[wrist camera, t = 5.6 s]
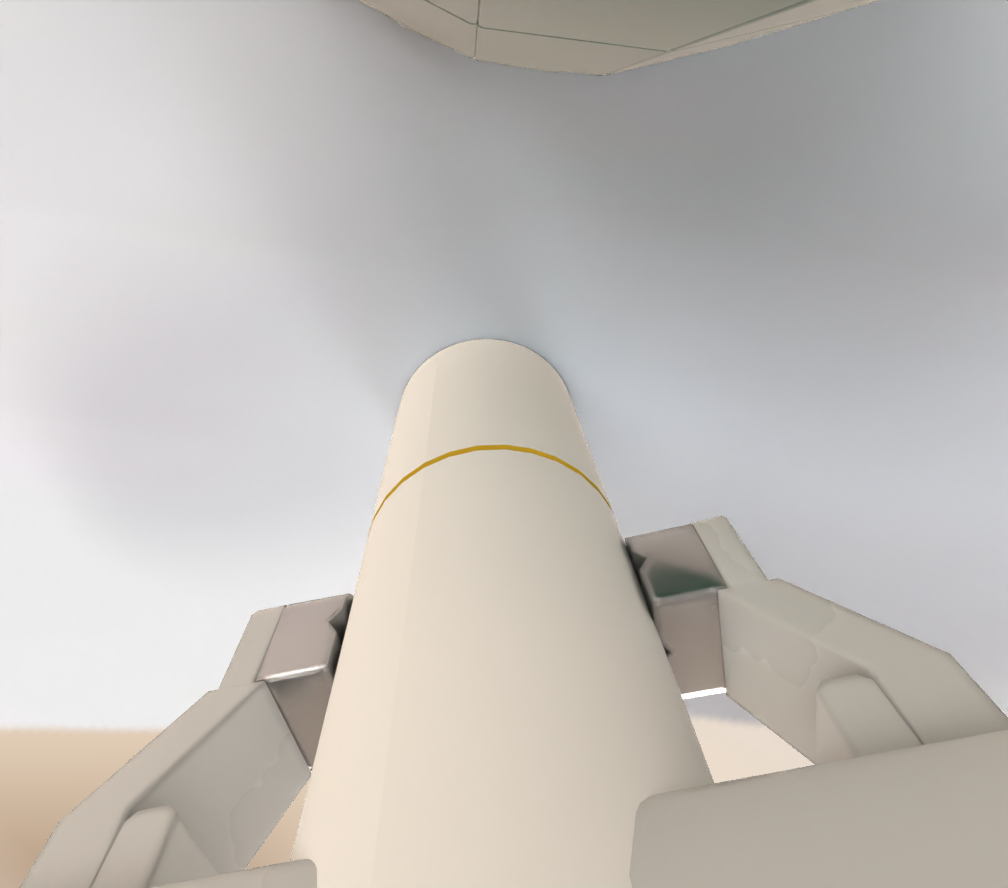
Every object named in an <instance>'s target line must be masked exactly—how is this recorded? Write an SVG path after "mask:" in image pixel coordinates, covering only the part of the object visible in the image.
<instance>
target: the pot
mask: <svg viewBox="0 0 1008 888" xmlns="http://www.w3.org/2000/svg"><path fill="white" fill-rule="evenodd" d="M358 1H360V2H362V3H364V4H366V5H368V6H370V7H372V8H374V9H376V10H378V11H380V12H382V13H383V14H385V15H386V16H388V17H390V18H391V19H393V20H394V21H396V22H397V23H399V24H401V25H402V26H404V27H405V28H408V29H410V30H412V31H414V32H416V33H419V34H421V35H423V36H425V37H427V38H429V39H432V40H434V41H436V42H438V43H440V44H442V45H445V46H447V47H449V48H451V49H453V50H456V51H458V52H460V53H462V54H464V55H466V56H468V57H469V58H474V57H475V59H476V60H477V61H485V62H493V63H500V64H503V65H507V66H514V67H522V68H529V69H536V70H543V71H550V72H574V73H582V74H590V75H598V76H601V75H604V74H606V75H610V74H614V73H618V72H623V71H627V70H631V69H635V68H639V67H643V66H648V65H652V64H659V63H662V62H665V61H668V60H673V59H677V58H681V57H685V56H689V55H693V54H698V53H702V52H706V51H710V50H714V49H718V48H723V47H727V46H730V45H734V44H737V43H740V42H744V41H747V40H750V39H754V38H757V37H760V36H764V35H767V34H770V33H774V32H777V31H780V30H784V29H787V28H790V27H794V26H797V25H800V24H804V23H807V22H810V21H814V20H817V19H820V18H823V17H827V16H830V15H833V14H837V13H840V12H843V11H847V10H850V9H853V8H856V7H860V6H864V5H867V4H871V3H874V2H877V1H881V0H358Z"/></svg>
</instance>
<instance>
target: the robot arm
mask: <svg viewBox="0 0 1008 888" xmlns="http://www.w3.org/2000/svg"><path fill="white" fill-rule="evenodd" d="M625 545H626V549H627V552H628V555H629V557H630V560H631V563H632V565H633V568H634V571H635V573H636V576H637V578H638V581H639V583H640V586H641V589H642V592H643V595H644V597H645V600H646V603H647V605H648V608H649V611H650V614H651V616H652V619H653V622H654V624H655V627H656V629H657V632H658V634H659V637H660V639H661V642H662V645H663V647H664V650H665V653H666V655H667V658H668V661H669V663H670V666H671V669H672V671H673V674H674V677H675V680H676V682H677V685H678V688H679V690H680V693H681V696H682V698H683V699H687V698H693V697H699V696H705V695H711V694H717V693H723V692H726V695H727V696H729V697H730V698H731V699H732V700H734V701H735V702H736V703H737V704H739V705H740V706H741V707H743V708H744V709H745V710H746V711H748V712H749V713H750V714H751V715H753V716H754V717H755V718H756V719H758V720H759V721H760V722H762V723H763V724H764V725H765V726H767V727H768V728H769V729H770V730H772V731H773V732H774V733H776V734H777V735H778V736H780V737H781V738H782V739H783V740H785V741H786V742H787V743H788V744H790V745H791V746H792V747H793V748H795V749H796V750H797V751H798V752H800V753H801V754H802V755H804V756H805V757H806V758H808V759H809V760H810V761H811V762H812V763H814V764H815V765H812V766H807V767H802V768H797V769H791V770H785V771H780V772H775V773H769V774H764V775H759V776H753V777H748V778H742V779H736V780H731V781H725V782H720V783H714V784H709V785H703V786H698V787H692V788H687V789H681V790H676V791H670V792H665V793H659V794H654V795H651V796H649V797H648V798H646V799H645V800H644V801H642V802H641V803H640V805H639V807H638V809H637V811H636V816H635V826H634V836H633V845H632V854H631V863H630V872H629V875H630V880H631V884H632V888H1008V717H1007V716H1006V715H1005V714H1004V713H1003V712H1002V711H1001V710H1000V709H999V707H998V706H997V705H996V704H995V703H994V702H993V701H992V700H991V699H990V698H989V696H988V695H987V694H986V693H985V692H984V691H983V690H982V689H981V688H980V686H979V685H978V684H977V683H976V682H975V681H974V680H973V679H972V678H971V677H970V675H969V674H968V673H967V672H966V671H965V670H964V669H963V668H962V667H961V666H960V664H959V663H958V662H957V661H956V660H955V659H954V658H953V657H952V656H951V654H949V653H947V652H944V651H942V650H940V649H937V648H935V647H933V646H931V645H928V644H926V643H924V642H922V641H919V640H917V639H915V638H913V637H910V636H908V635H906V634H903V633H901V632H899V631H897V630H894V629H892V628H890V627H888V626H885V625H883V624H881V623H878V622H876V621H874V620H872V619H869V618H867V617H865V616H863V615H860V614H858V613H856V612H853V611H851V610H849V609H847V608H844V607H842V606H840V605H838V604H835V603H833V602H831V601H828V600H826V599H824V598H822V597H819V596H817V595H815V594H813V593H810V592H808V591H806V590H803V589H801V588H799V587H797V586H794V585H792V584H790V583H788V582H785V581H783V580H781V579H773V580H768V579H767V578H766V576H765V575H764V573H763V572H762V570H761V569H760V567H759V566H758V564H757V563H756V561H755V560H754V558H753V557H752V555H751V554H750V552H749V551H748V549H747V548H746V546H745V545H744V543H743V542H742V540H741V539H740V537H739V536H738V534H737V533H736V531H735V530H734V528H733V527H732V525H731V524H730V522H729V521H728V519H727V518H726V517H724V516H718V517H714V518H710V519H706V520H701V521H697V522H693V523H690V524H688V525H684V526H679V527H674V528H670V529H665V530H660V531H656V532H651V533H646V534H642V535H637V536H632V537H628V538H625ZM353 598H354V596H353V595H351V594H344V595H339V596H333V597H328V598H322V599H317V600H311V601H306V602H300V603H295V604H289V605H288V606H287V605H284V606H279V607H274V608H269V609H264V610H259V611H257V612H256V613H254V614H253V615H252V616H251V618H250V620H249V622H248V624H247V627H246V629H245V631H244V633H243V635H242V638H241V640H240V642H239V644H238V647H237V649H236V651H235V653H234V655H233V658H232V660H231V662H230V664H229V667H228V669H227V671H226V673H225V676H224V678H223V680H222V682H221V684H220V687H219V689H218V690H214V691H209V692H207V693H206V694H205V695H204V696H203V697H202V698H200V699H199V700H198V701H197V702H196V703H195V704H194V705H192V706H191V707H190V708H189V709H188V710H187V711H186V712H184V713H183V714H182V715H181V716H180V717H179V718H178V719H176V720H175V721H174V722H173V723H172V724H171V725H169V726H168V727H167V728H166V729H165V730H164V731H163V732H161V733H160V734H159V735H158V736H157V737H156V738H155V739H153V740H152V741H151V742H150V743H149V744H148V745H147V746H145V747H144V748H143V749H142V750H141V751H140V752H139V753H137V754H136V755H135V756H134V757H133V758H132V759H131V760H129V761H128V762H127V763H126V764H125V765H124V766H123V767H121V768H120V769H119V770H118V771H117V772H116V773H114V775H112V776H111V777H110V778H109V779H108V780H107V781H105V782H104V783H103V784H102V785H101V786H100V787H98V788H97V789H96V790H95V791H94V792H93V793H92V794H90V795H89V796H88V797H87V798H86V799H85V800H83V801H82V802H81V803H80V804H79V805H78V806H77V807H75V808H74V809H73V810H72V811H71V812H70V813H69V814H67V815H66V816H65V817H64V818H63V819H62V820H61V821H59V822H58V823H57V825H56V827H55V829H54V830H53V832H52V834H51V835H50V837H49V839H48V841H47V842H46V844H45V846H44V847H43V849H42V851H41V852H40V854H39V856H38V857H37V859H36V861H35V862H34V864H33V866H32V867H31V869H30V871H29V873H28V874H27V876H26V878H25V879H24V881H23V883H22V884H21V886H20V888H317V868H316V865H315V863H314V862H313V861H312V860H310V859H301V860H295V861H290V862H285V863H279V864H274V865H268V866H263V867H257V868H253V869H246V870H245V868H246V867H247V865H248V864H249V862H250V861H251V859H252V858H253V857H254V855H255V854H256V853H257V851H258V850H259V848H260V847H261V846H262V844H263V843H264V841H265V840H266V839H267V837H268V836H269V834H270V833H271V831H272V830H273V829H274V827H275V826H276V825H277V823H278V822H279V820H280V819H281V817H282V816H283V815H284V813H285V812H286V810H287V809H288V808H289V806H290V805H291V803H292V802H293V801H294V799H295V798H296V796H297V795H298V794H299V792H300V791H301V789H302V788H303V786H304V785H305V784H306V782H307V781H308V779H309V778H310V776H311V771H312V768H313V764H314V760H315V756H316V752H317V747H318V743H319V739H320V735H321V731H322V727H323V723H324V718H325V714H326V710H327V706H328V702H329V698H330V694H331V689H332V685H333V681H334V677H335V673H336V669H337V665H338V661H339V656H340V652H341V648H342V644H343V640H344V636H345V632H346V627H347V623H348V619H349V615H350V611H351V606H352V602H353Z"/></svg>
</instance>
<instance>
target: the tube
mask: <svg viewBox="0 0 1008 888" xmlns="http://www.w3.org/2000/svg"><path fill="white" fill-rule="evenodd" d="M709 784H714V782H713V779H712V776H711V773H710V771H709V768H708V765H707V763H706V760H705V757H704V754H703V752H702V749H701V747H700V744H699V741H698V739H697V736H696V733H695V730H694V728H693V725H692V722H691V720H690V717H689V714H688V712H687V709H686V706H685V704H684V701H683V698H682V696H681V693H680V690H679V688H678V685H677V682H676V680H675V677H674V674H673V671H672V669H671V666H670V663H669V661H668V658H667V655H666V653H665V650H664V647H663V645H662V642H661V639H660V637H659V634H658V632H657V629H656V627H655V624H654V622H653V619H652V616H651V614H650V611H649V608H648V605H647V603H646V600H645V597H644V595H643V592H642V589H641V586H640V583H639V581H638V578H637V576H636V573H635V571H634V568H633V565H632V563H631V560H630V557H629V555H628V552H627V549H626V546H625V543H624V540H623V538H622V535H621V532H620V530H619V527H618V524H617V522H616V519H615V517H614V514H613V511H612V508H611V505H610V503H609V500H608V497H607V495H606V492H605V489H604V487H603V484H602V481H601V479H600V476H599V473H598V471H597V468H596V465H595V462H594V460H593V457H592V454H591V452H590V449H589V446H588V444H587V441H586V438H585V436H584V433H583V430H582V428H581V425H580V422H579V420H578V417H577V414H576V411H575V409H574V406H573V403H572V401H571V398H570V395H569V393H568V391H567V389H566V386H565V384H564V382H563V380H562V379H561V377H560V376H559V375H558V373H557V372H556V370H555V369H554V368H553V367H552V366H551V365H550V364H549V363H548V362H547V361H546V360H545V359H543V358H542V357H541V356H539V355H538V354H536V353H534V352H533V351H531V350H529V349H528V348H526V347H523V346H520V345H518V344H515V343H512V342H509V341H502V340H495V339H479V340H469V341H465V342H461V343H458V344H454V345H452V346H450V347H447V348H445V349H443V350H441V351H439V352H438V353H436V354H435V355H433V356H432V357H431V358H429V359H428V360H426V361H425V362H424V363H423V364H422V365H421V367H420V368H419V369H418V370H417V371H416V372H415V373H414V374H413V376H412V378H411V379H410V381H409V383H408V384H407V386H406V388H405V390H404V393H403V396H402V399H401V402H400V405H399V410H398V414H397V418H396V422H395V426H394V430H393V435H392V439H391V443H390V447H389V451H388V455H387V460H386V464H385V468H384V472H383V476H382V480H381V485H380V489H379V493H378V497H377V501H376V505H375V510H374V514H373V518H372V522H371V526H370V530H369V535H368V540H367V543H366V547H365V551H364V556H363V560H362V564H361V568H360V572H359V577H358V581H357V585H356V589H355V594H354V598H353V602H352V606H351V611H350V615H349V619H348V623H347V627H346V632H345V636H344V640H343V644H342V648H341V652H340V656H339V661H338V665H337V669H336V673H335V677H334V681H333V685H332V689H331V694H330V698H329V702H328V706H327V710H326V714H325V718H324V723H323V727H322V731H321V735H320V739H319V743H318V747H317V752H316V756H315V760H314V764H313V768H312V772H311V776H310V780H309V785H308V789H307V793H306V797H305V801H304V805H303V810H302V814H301V818H300V822H299V826H298V831H297V834H296V838H295V843H294V847H293V851H292V855H291V859H290V861H295V860H301V859H310V860H312V861H313V862H314V863H315V865H316V868H317V888H632V884H631V880H630V875H629V872H630V863H631V854H632V845H633V836H634V826H635V816H636V811H637V809H638V807H639V805H640V803H641V802H642V801H644V800H645V799H646V798H648V797H649V796H651V795H654V794H659V793H665V792H670V791H676V790H681V789H687V788H692V787H698V786H703V785H709Z"/></svg>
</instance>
